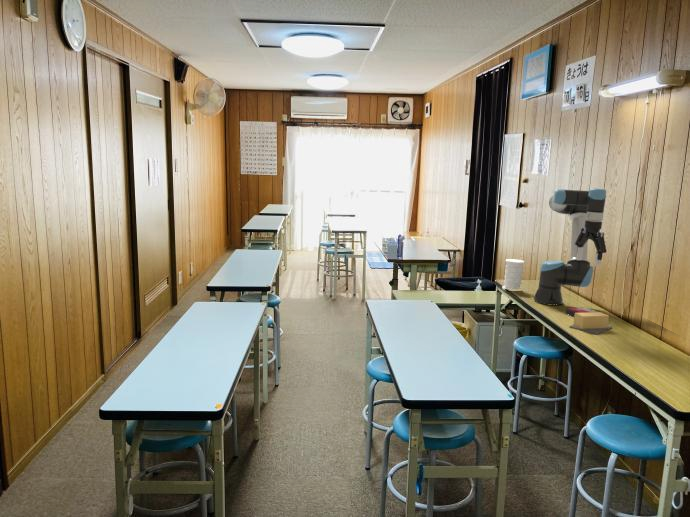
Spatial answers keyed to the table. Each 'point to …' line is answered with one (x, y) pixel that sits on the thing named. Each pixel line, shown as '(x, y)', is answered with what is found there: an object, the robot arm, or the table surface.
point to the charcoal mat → (594, 330)
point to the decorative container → (513, 274)
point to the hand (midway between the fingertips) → (588, 263)
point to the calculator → (578, 310)
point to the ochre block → (591, 320)
